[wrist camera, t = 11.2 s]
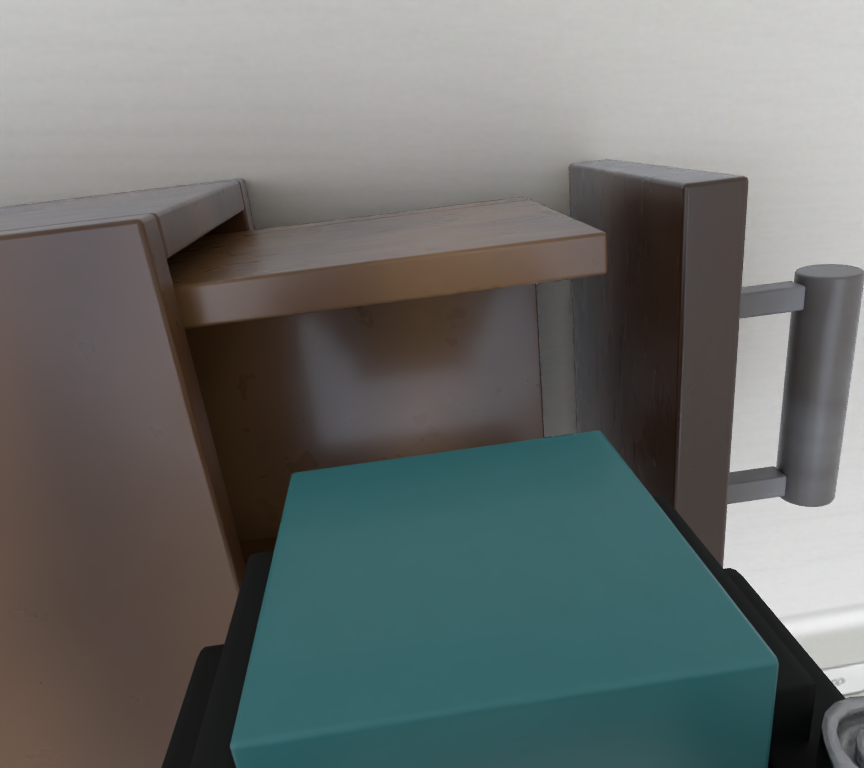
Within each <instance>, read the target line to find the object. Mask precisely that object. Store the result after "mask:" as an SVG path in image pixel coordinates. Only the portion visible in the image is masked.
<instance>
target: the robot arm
mask: <svg viewBox="0 0 864 768" xmlns="http://www.w3.org/2000/svg"><path fill="white" fill-rule="evenodd" d="M652 497H653V498H654V500H655V501H656V502H657V504H658V505H659V506H660V507H661V509H662V510H663V511H664V513H665V514H666V515H667V516H668V518H669V519H670V520H671V522H672V523H673V524H674V526H675V527H676V528H677V529H678V531H679V532H680V533H681V535H682V536H683V537H684V538H685V540H686V541H687V542H688V544H689V545H690V546H691V547H692V549H693V550H694V551H695V553H696V554H697V555H698V556H699V558H700V559H701V560H702V562H703V563H704V564H705V565H706V567H707V568H708V569H709V571H710V572H711V573H712V574H713V576H714V577H715V578H716V580H717V581H718V582H719V583H720V585H721V586H722V587H723V589H724V590H725V591H726V592H727V594H728V595H729V596H730V598H731V599H732V600H733V601H734V603H735V604H736V605H737V607H738V608H739V609H740V610H741V612H742V613H743V614H744V616H745V617H746V618H747V619H748V621H749V622H750V623H751V625H752V626H753V627H754V628H755V630H756V631H757V632H758V634H759V635H760V636H761V637H762V639H763V640H764V641H765V643H766V644H767V645H768V646H769V648H770V649H771V650H772V652H773V653H774V654H775V655H776V657H777V659H778V663H779V668H778V677H777V687H776V696H775V705H774V714H773V724H772V733H771V742H770V752H769V761H768V768H864V696H860V697H849V698H846V699H845V697H844V696H843V695H842V694H841V693H840V692H839V690H838V689H837V688H836V687H835V686H834V684H833V683H832V682H831V681H830V680H829V678H828V677H827V676H826V675H825V674H824V673H823V671H822V670H821V669H820V668H819V667H818V665H817V664H816V663H815V662H814V661H813V659H812V658H811V657H810V656H809V655H808V653H807V652H806V651H805V650H804V649H803V648H802V646H801V645H800V644H799V643H798V642H797V640H796V639H795V638H794V637H793V636H792V634H791V633H790V632H789V631H788V630H787V628H786V627H785V626H784V625H783V624H782V623H781V621H780V620H779V619H778V618H777V617H776V615H775V614H774V613H773V612H772V611H771V609H770V608H769V607H768V606H767V605H766V604H765V602H764V601H763V600H762V599H761V598H760V596H759V595H758V594H757V593H756V592H755V590H754V589H753V588H752V587H751V586H750V584H749V583H748V582H747V581H746V580H745V579H744V577H743V576H742V575H741V574H740V573H738V572H737V571H736V570H734V569H731V568H727V569H723V568H722V566H721V565H720V564H719V563H718V561H717V560H716V559H715V558H714V556H713V555H712V554H711V553H710V552H709V550H708V549H707V548H706V547H705V545H704V544H703V543H702V542H701V540H700V539H699V538H698V537H697V536H696V534H695V533H694V532H693V531H692V529H691V528H690V527H689V526H688V524H687V523H686V522H685V521H684V520H683V518H682V517H681V516H680V515H679V513H678V512H677V511H676V510H675V508H674V507H673V506H672V505H671V503H670V502H669V501H668V500H667V499H666V498H665V497H664V496H662V495H658V496H652ZM273 554H274V551H270V552H263V553H256V554H251V555H250V556H249V559H248V562H247V566H246V569H245V573H244V576H243V580H242V583H241V587H240V590H239V594H238V597H237V601H236V605H235V608H234V612H233V615H232V619H231V622H230V626H229V629H228V633H227V636H226V640H225V643H224V644H220V645H214V646H207V647H204V648H203V649H202V650H201V651H200V653H199V656H198V658H197V660H196V663H195V666H194V670H193V673H192V676H191V679H190V682H189V685H188V688H187V691H186V694H185V697H184V700H183V703H182V706H181V709H180V712H179V715H178V719H177V722H176V725H175V728H174V731H173V734H172V737H171V740H170V743H169V746H168V749H167V752H166V755H165V758H164V761H163V764H162V768H236V765H235V762H234V759H233V755H232V752H231V749H230V743H231V739H232V734H233V730H234V726H235V721H236V717H237V712H238V708H239V704H240V699H241V695H242V690H243V686H244V682H245V677H246V673H247V668H248V664H249V660H250V655H251V651H252V646H253V642H254V637H255V633H256V629H257V624H258V620H259V615H260V611H261V607H262V602H263V598H264V593H265V589H266V585H267V580H268V576H269V571H270V567H271V563H272V558H273Z"/></svg>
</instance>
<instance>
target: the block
mask: <svg viewBox="0 0 864 768" xmlns="http://www.w3.org/2000/svg"><path fill="white" fill-rule="evenodd" d="M778 668H779V663H778V659H777V657H776V655H775V654H774V653H773V652H772V650H771V649H770V648H769V646H768V645H767V644H766V643H765V641H764V640H763V639H762V637H761V636H760V635H759V634H758V632H757V631H756V630H755V628H754V627H753V626H752V625H751V623H750V622H749V621H748V619H747V618H746V617H745V616H744V614H743V613H742V612H741V610H740V609H739V608H738V607H737V605H736V604H735V603H734V601H733V600H732V599H731V598H730V596H729V595H728V594H727V592H726V591H725V590H724V589H723V587H722V586H721V585H720V583H719V582H718V581H717V580H716V578H715V577H714V576H713V574H712V573H711V572H710V571H709V569H708V568H707V567H706V565H705V564H704V563H703V562H702V560H701V559H700V558H699V556H698V555H697V554H696V553H695V551H694V550H693V549H692V547H691V546H690V545H689V544H688V542H687V541H686V540H685V538H684V537H683V536H682V535H681V533H680V532H679V531H678V529H677V528H676V527H675V526H674V524H673V523H672V522H671V520H670V519H669V518H668V516H667V515H666V514H665V513H664V511H663V510H662V509H661V507H660V506H659V505H658V504H657V502H656V501H655V500H654V498H653V497H652V496H651V495H650V493H649V492H648V491H647V489H646V488H645V487H644V486H643V484H642V483H641V482H640V480H639V479H638V478H637V477H636V475H635V474H634V473H633V471H632V470H631V469H630V468H629V466H628V465H627V464H626V462H625V461H624V460H623V459H622V457H621V456H620V455H619V453H618V452H617V451H616V450H615V448H614V447H613V446H612V444H611V443H610V442H609V441H608V439H607V438H606V437H605V435H604V434H603V433H602V432H601V431H590V432H583V433H576V434H569V435H562V436H555V437H547V438H540V439H533V440H526V441H519V442H511V443H504V444H497V445H490V446H483V447H476V448H468V449H461V450H454V451H447V452H440V453H432V454H425V455H418V456H411V457H404V458H397V459H389V460H382V461H375V462H368V463H361V464H354V465H346V466H339V467H332V468H325V469H318V470H310V471H303V472H296V473H293V474H292V475H291V479H290V483H289V488H288V492H287V497H286V501H285V505H284V510H283V514H282V519H281V523H280V527H279V532H278V536H277V541H276V545H275V549H274V554H273V558H272V563H271V567H270V571H269V576H268V580H267V585H266V589H265V593H264V598H263V602H262V607H261V611H260V615H259V620H258V624H257V629H256V633H255V637H254V642H253V646H252V651H251V655H250V660H249V664H248V668H247V673H246V677H245V682H244V686H243V690H242V695H241V699H240V704H239V708H238V712H237V717H236V721H235V726H234V730H233V734H232V739H231V743H230V749H231V752H232V755H233V759H234V762H235V765H236V768H768V761H769V752H770V742H771V733H772V724H773V714H774V705H775V696H776V687H777V677H778Z"/></svg>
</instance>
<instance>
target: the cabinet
mask: <svg viewBox="0 0 864 768" xmlns="http://www.w3.org/2000/svg"><path fill="white" fill-rule="evenodd" d="M250 230H255V229H254V225H253V220H252V215H251V210H250V205H249V200H248V195H247V190H246V186H245V181H244V180H243V179H233V180H225V181H216V182H208V183H199V184H191V185H183V186H174V187H166V188H158V189H149V190H141V191H132V192H124V193H116V194H107V195H99V196H91V197H82V198H74V199H65V200H57V201H49V202H40V203H32V204H23V205H15V206H7V207H0V768H162V764H163V761H164V758H165V755H166V752H167V749H168V746H169V743H170V740H171V737H172V734H173V731H174V728H175V725H176V722H177V719H178V715H179V712H180V709H181V706H182V703H183V700H184V697H185V694H186V691H187V688H188V685H189V682H190V679H191V676H192V673H193V670H194V666H195V663H196V660H197V658H198V656H199V653H200V651H201V650H202V649H203V648H204V647H207V646H214V645H220V644H224V643H225V640H226V636H227V633H228V629H229V626H230V622H231V619H232V615H233V612H234V608H235V605H236V601H237V597H238V594H239V590H240V587H241V583H242V580H243V576H244V573H245V569H246V565H245V562H244V558H243V554H242V550H241V546H240V542H239V538H238V534H237V531H236V527H235V523H234V519H233V515H232V511H231V507H230V503H229V500H228V496H227V492H226V488H225V484H224V480H223V476H222V472H221V469H220V465H219V461H218V457H217V453H216V449H215V445H214V441H213V438H212V434H211V430H210V426H209V422H208V418H207V414H206V410H205V407H204V403H203V399H202V395H201V391H200V387H199V383H198V379H197V376H196V372H195V368H194V364H193V360H192V356H191V352H190V348H189V345H188V341H187V337H186V333H185V329H184V325H183V321H182V317H181V314H180V310H179V306H178V302H177V298H176V294H175V290H174V286H173V283H172V279H171V275H170V271H169V267H168V263H167V259H168V258H169V257H171V256H172V255H174V254H176V253H177V252H179V251H180V250H182V249H183V248H185V247H186V246H188V245H190V244H191V243H193V242H194V241H196V240H197V239H199V238H201V237H202V236H209V235H217V234H225V233H234V232H242V231H250Z"/></svg>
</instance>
